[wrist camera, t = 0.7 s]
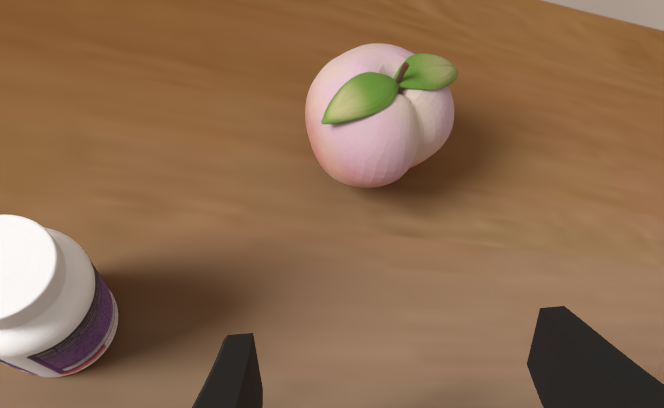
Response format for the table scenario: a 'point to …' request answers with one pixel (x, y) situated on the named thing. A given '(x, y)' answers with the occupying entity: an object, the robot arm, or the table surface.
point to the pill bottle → (50, 301)
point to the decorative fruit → (379, 113)
